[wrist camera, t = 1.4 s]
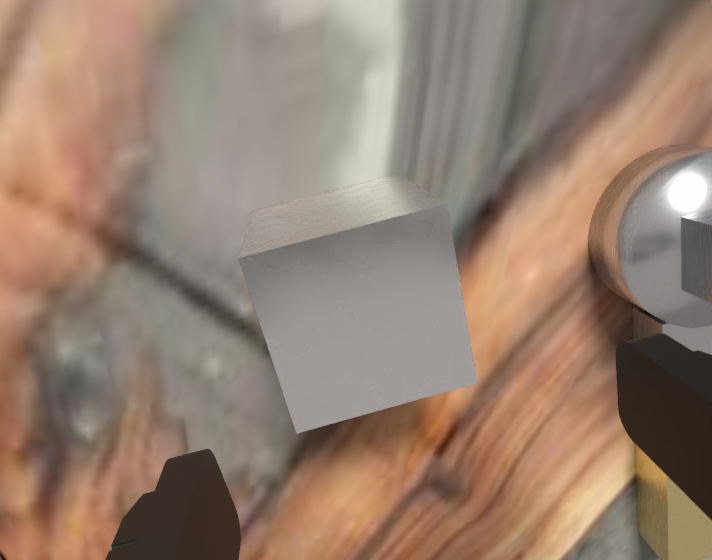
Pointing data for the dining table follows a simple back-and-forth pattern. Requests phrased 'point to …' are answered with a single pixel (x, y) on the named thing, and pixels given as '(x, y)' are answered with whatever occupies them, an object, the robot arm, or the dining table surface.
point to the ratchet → (662, 301)
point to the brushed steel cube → (358, 299)
